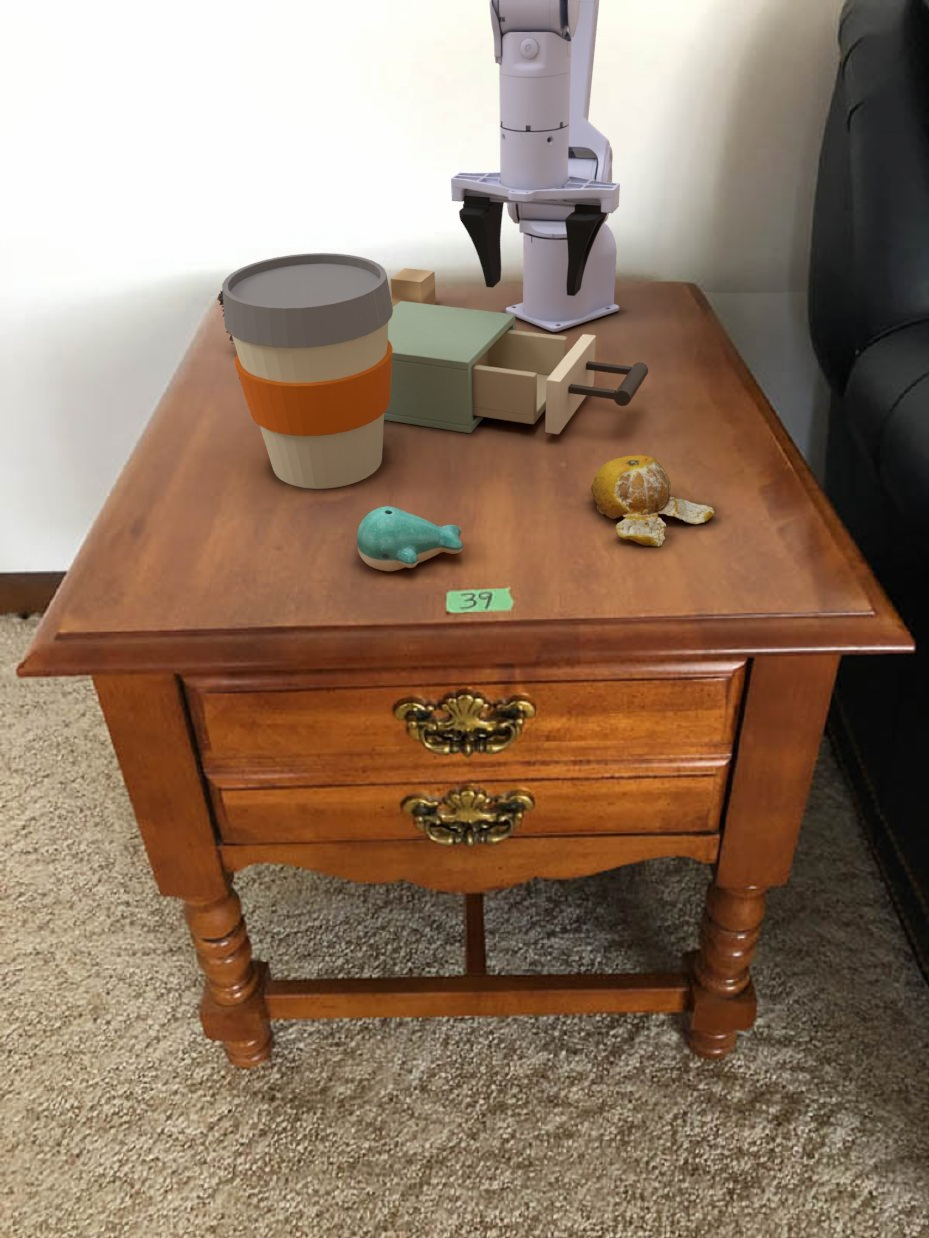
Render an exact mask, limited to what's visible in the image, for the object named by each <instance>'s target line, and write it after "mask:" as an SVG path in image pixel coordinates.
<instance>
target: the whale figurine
mask: <svg viewBox="0 0 929 1238" xmlns="http://www.w3.org/2000/svg"><path fill="white" fill-rule="evenodd" d="M461 535H462V530H461V528H460V527H459V526H458V525H454V524H446V525H443V526H440V525H437V524H435V523H434V522H431V521H429V520H427V519H426V518H423V517H421V516H418V515H416V514H413V513H410V512H408V511H405V510H402V509H400V508H397V507H395V506H389V505H386V506H381V507H377V508H375V509H373V510H372V511H370V512H369V513H367V514H366V515H365V516H364V518H363V519H362V521H361V522H360V523H359V526H358V529H357V533H356V545H357V551H358V555H359V556H360V558H361V559H362V561H363V562H364V563H365V564H366V565H368V566H369V567H371V568H373V569H375V570H379V571H382V572H383V571H384V572H394V571H400V570H402V569H405V568H408V569H413V568H415V567H416V566H417V565H418V564H420V563H422V562H424V561H425V562H426V561H427V560H429V559H431V558H433V557H435V556H437V555H439V554H441V553H446V554H452V555H453V554H454V555H455V554H458V553H461V552H462V551H463V549H464V545H463V542H462V541H461V539H460V537H461Z"/></svg>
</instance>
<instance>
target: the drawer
mask: <svg viewBox="0 0 929 1238" xmlns="http://www.w3.org/2000/svg"><path fill="white" fill-rule="evenodd" d="M596 342H597V335H594V334H586V333H583V334H582V335H581V336H580V337H579V338H578V340H577V341H576V342H575V343H574V345H573V346H572V347H571V348H570V349H569V351H568V336H565V335H558V334H557V335H556V334H548V333H541V332H540V333H539V332H533V331H524V330H517V329H516V330H507V331H506V332H505V333H504V334H503V335H502V336H501V337H500V338H499V339H498V340H497V341H496V342H495V343H494V344H493V345H492V346H491V347H490V348H489V349H488V350H487V351H486V352H485V353H484V354H483V355H482V357H481V358H480V359H479V360H478V361H477V362H476V363H475V364H474V365H473V366H472V367H471V374H472V409H473V415H474V416H481V417H484V418H489V419H494V420H495V419H496V420H501V421H509V422H514V423H522V424H528V425H534V424H535V423H536V422H537V420H538V419H539V418H540V416H541V415H542V414H543V413H544V411H545V423H544V425H545V426H544V428H545V429H544V432H545V433H546V434H553V435H560V433H562V431H563V429H564V428H565V426H567V424H568V422H569V421H570V420H571V418H572V416H573V415H574V414H575V413H576V411H577V410H578V409H579V407H580V405H581V404H582V402H583V401H584V400H585V398H586V397H595V398H601V399H608V400H609V399H610V400H614V402H615V404H616V405H618V406H620V407H626V406H628V405H629V404H630V402H631V401H632V399H633V398H634V396H635V395H636V393H637V391H638V390H639V388H640V387H641V385H642V383H643V382H644V381H645V379H646V377H647V376H648V374H649V367H648V365H647V364H646V363H645V362H640V361H639V362H636V363H634V364H633V366H631V365H622V364H614V363H607V362H599V361H596V347H597V346H596V345H597V343H596ZM595 372H602V373H608V374H615V375H624V376H625V377H624V378H623V380H622V382H621V384H620V385H619V387H618V388H617V389H611V388H605V387H597V386H595Z"/></svg>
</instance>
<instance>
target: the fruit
mask: <svg viewBox="0 0 929 1238" xmlns="http://www.w3.org/2000/svg"><path fill="white" fill-rule="evenodd" d="M590 491H591V494H592V498H593V499H594V501H595V503H596V504H597V505H596V509H597V510H598V512H599V514H600V515H601V516H602V515H605V516H606V517H608V518H610V519H612V520H614V519H617V518H619V517H623V520H621V521H619V522H618V523H616V525H615V531H616V535H617V536H618V537H619V538H620V539H622V540H631V541H634V542H635V543H637V544H639V545H642V546H646V547H647V546H652V547H660V546H662V545H663V542H664V541H665V540H666V537H665V531H666V528H667V524H666V522H664V521H663V520H662V517H659V515H663V514H664V515H666V516H670V517H675V518H677V519H679V520H683V521H684V522H685V523H689V524H694V525H698V524H701V523H705V522H707V521H708V520H710V519H711V518H712V517H713V516H714V515H715V510H714V507H711V506H709V505H706V504H699V503H697V502H691V501H689V500H687V499H682V498H678V497H675V496H672V484H671V480H670V477H669V475H668V474H667V472H666V470H665V468H664V467H663V466H662V465H661V463H660V462H659V461H658V459H656V458H654V457H652V456H648V455H644V454H636V455H624V456H622V457H617V458H614V459H611V460H609V461H607V462H606V463H604V464H603V465H601V467H600V468H599V469H598V471H597V472H596V474H595V476H594V479H593V482H592V483H591V485H590Z"/></svg>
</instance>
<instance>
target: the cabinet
mask: <svg viewBox="0 0 929 1238" xmlns="http://www.w3.org/2000/svg"><path fill="white" fill-rule="evenodd" d="M392 307H393V306H392ZM516 318H517V317H516V315H515V314H509V313H506V312H499V311H492V310H491V311H490V310H482V309H475V308H464V307H457V306H448V305H447V306H446V305H441V304H440V305H438V304H435V305H431V304H422V303H413V302H405V301H400V302H399V303H398V304H396V305H395V306H394V307H393V314H392V317H391V318H390V320H389V322H388V340H389V341H390V342H391V345H392V348H393V350H392V370H391V390H390V403H389V407H388V408H387V410H386V412H384V421H389V422H394V423H402V424H408V425H415V426H421V427H427V428H433V429H440V430H446V431H453V432H459V433H466V434H471V433H472V432H473V431H474V430H475V429H476V427H477V426H479V424H480V423H481V421H482V420H483V419H484V418H485V417H481V416H474V415H473V409H472V374H471V367H472V366H473V365H474V364H475V363H476V362H477V361H478V360H479V359H480V358H481V357H482V355H483V354H484V353H485V352H486V351H487V350H488V349H489V348H490V347H491V346H492V345H493V344H494V343H495V342H496V341H497V340H498V339H499V338H500V337H501V336H502V335H503V334H504V333H505V332H506V331H507V330H516V331H517V327H516V325H517V324H516V322H517V321H516V320H517V319H516Z"/></svg>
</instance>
